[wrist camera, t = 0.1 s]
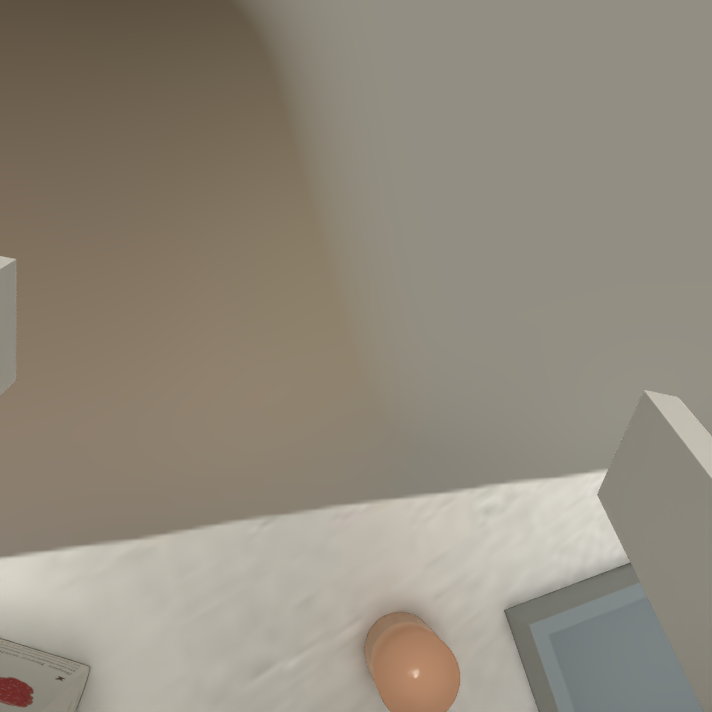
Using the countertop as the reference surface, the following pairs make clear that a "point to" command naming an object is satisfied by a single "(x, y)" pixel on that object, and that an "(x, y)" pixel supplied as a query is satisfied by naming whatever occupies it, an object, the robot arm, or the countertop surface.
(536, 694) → the slate tote
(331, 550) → the countertop surface
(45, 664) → the supplement box
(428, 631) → the terracotta cylinder
